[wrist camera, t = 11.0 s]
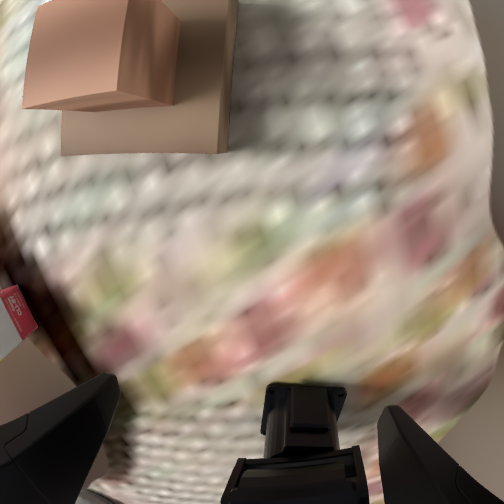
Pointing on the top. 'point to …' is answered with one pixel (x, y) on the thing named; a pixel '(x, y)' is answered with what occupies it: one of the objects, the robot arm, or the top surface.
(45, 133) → the top surface
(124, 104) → the terracotta cube
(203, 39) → the tan square slab
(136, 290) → the top surface
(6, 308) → the ink box
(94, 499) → the coffee pot
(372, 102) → the top surface
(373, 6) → the top surface
